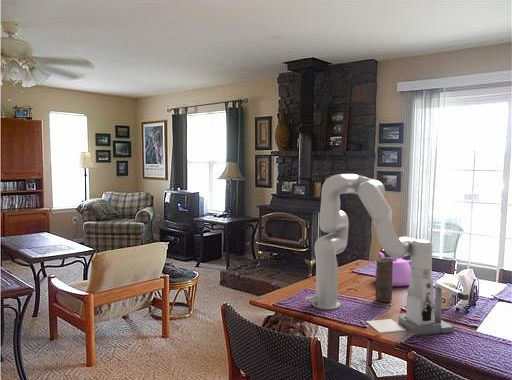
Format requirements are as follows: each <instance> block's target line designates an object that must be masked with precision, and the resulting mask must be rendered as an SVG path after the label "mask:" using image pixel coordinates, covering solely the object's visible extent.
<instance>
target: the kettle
mask: <svg viewBox="0 0 512 380" xmlns="http://www.w3.org/2000/svg"><path fill="white" fill-rule="evenodd" d="M378 254H379V255H380V258H386V257H385V254H384V253H383V252H378ZM390 258H391V259H393V273H392V288H394V287H406V286H409V281H410V273H411V259H408V260H407V259H403V258H400V259H394V258H392V257H390ZM376 269H377V267H376V268H375V270H376ZM374 273H375V274H374V277H375V278H376V271H375V272H374Z"/></svg>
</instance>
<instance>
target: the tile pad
mask: <svg viewBox="0 0 512 380" xmlns="http://www.w3.org/2000/svg"><path fill="white" fill-rule="evenodd" d="M366 324H368V325H369V326H370V327H372V328H373V329H374V330H375V331H376V332H378V333H379V334H386V333H387V334H388V333H396V332H406V331H407V329H406V328H404V327H403V326H401V325H400V324H399V323H398V322H396V321H395V320H393V319H392V318H389V319H388V318H387V319H377V320H375V319H373V320H366Z"/></svg>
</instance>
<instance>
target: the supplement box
mask: <svg viewBox="0 0 512 380" xmlns="http://www.w3.org/2000/svg"><path fill="white" fill-rule="evenodd" d="M434 301H435V297H434ZM425 302H428V299H426V301H425ZM425 305H426V307H427V306H428V304H425ZM405 309H406V311H405V316H406V320H408V321H409V322H411V323H412V324H414V325H415V326H420V325H431V324H434V316H435V307H434V308H433V309H432V311H431V321H423V310H424V308H423V304H422V300H421V299H419V298H417V297H415V296H413V295H408V294H407V295H406V306H405Z"/></svg>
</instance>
